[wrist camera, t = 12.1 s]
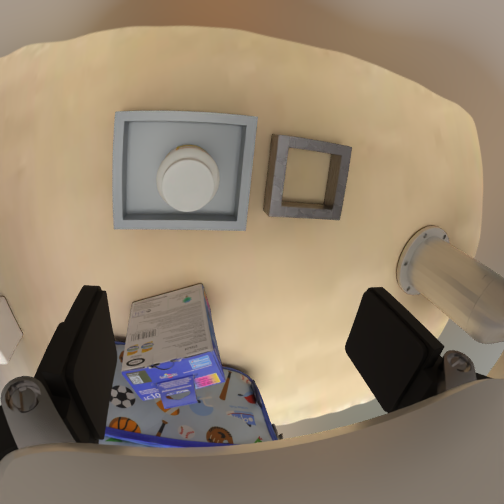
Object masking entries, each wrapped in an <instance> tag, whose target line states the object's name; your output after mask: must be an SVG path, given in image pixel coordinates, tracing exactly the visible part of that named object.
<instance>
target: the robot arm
mask: <svg viewBox="0 0 504 504" xmlns="http://www.w3.org/2000/svg"><path fill="white" fill-rule="evenodd" d="M397 281H398V284H399V286H400V288H401V289H402V290H403V291H404V292H405V293H407V294H409V295H418V294H422V295H423V296H425V297H426V298H427V299H428V300H429V301H431V302H432V303H433V304H434V305H435V306H436V307H438V308H439V309H440V310H441V311H442V312H443V313H445V314H446V315H447V316H448V317H449V318H450V319H452V320H453V321H454V322H455V323H456V324H457V325H458V326H459V327H461V328H462V329H463V330H464V331H465V332H466V333H467V334H468V335H469V336H471V337H472V338H473V339H474V340H476V341H477V342H479V343H482V344H492V343H498V342H504V278H503V277H502V276H500V275H499V274H497V273H496V272H494V271H493V270H491V269H490V268H488V267H487V266H485V265H483V264H482V263H480V262H479V261H477V260H476V259H474V258H472V257H471V256H469V255H468V254H466V253H464V252H463V251H461V250H459V249H458V248H456V247H454V246H452V245H451V244H450V243H449V238H448V236H447V234H446V232H445V231H444V230H442V229H441V228H439V227H437V226H428V227H425V228H423V229H421V230H420V231H418V232H417V233H416V234H415V235H414V236H413V237H412V238H411V239H410V241H409V242H408V243H407V245H406V246H405V248H404V250H403V252H402V254H401V257H400V260H399V263H398V268H397ZM443 348H444V346H443V345H442V344H441V343H440V342H439V341H438V340H437V339H436V338H435V337H434V336H433V335H432V334H431V333H430V332H429V331H428V330H427V329H426V328H425V327H424V326H423V325H422V324H421V323H420V322H419V321H418V320H417V319H416V318H415V317H414V316H413V315H412V314H411V313H410V312H409V311H408V310H407V309H406V308H405V307H404V306H403V305H402V304H400V303H399V302H398V301H397V300H396V299H395V298H394V297H393V296H392V295H391V294H390V293H389V292H388V291H386V290H385V289H384V288H383V287H372V288H368V290H367V291H366V292H365V293H364V294H363V297H362V300H361V303H360V306H359V309H358V312H357V315H356V317H355V320H354V323H353V326H352V329H351V331H350V334H349V337H348V339H347V342H346V345H345V350H346V353H347V355H348V356H349V358H350V359H351V361H352V362H353V364H354V365H355V367H356V368H357V370H358V371H359V373H360V374H361V376H362V377H363V379H364V381H365V382H366V384H367V385H368V387H369V388H370V390H371V391H372V393H373V394H374V396H375V397H376V399H377V400H378V402H379V403H380V405H381V406H382V408H383V410H384V411H386V412H388V414H385V415H382V416H378V417H375V418H372V419H369V420H365V421H362V422H359V423H355V424H352V425H348V426H344V427H340V428H336V429H332V430H327V431H323V432H318V433H314V434H309V435H304V436H299V437H293V438H287V439H281V440H274V441H267V442H260V443H251V444H242V445H230V446H216V447H186V448H160V447H135V446H121V445H104V444H99V440H103V439H104V437H105V430H106V422H107V415H108V409H109V403H110V397H111V391H112V385H113V380H114V375H115V370H116V365H117V350H116V345H115V340H114V335H113V330H112V324H111V318H110V312H109V306H108V300H107V293H106V291H102V290H101V287H100V286H88V285H84V286H83V287H82V289H81V291H80V292H79V294H78V296H77V298H76V300H75V302H74V303H73V305H72V307H71V309H70V311H69V313H68V315H67V317H66V319H65V321H64V322H61V323H60V324H59V325H58V327H57V329H56V331H55V333H54V335H53V337H52V339H51V341H50V343H49V345H48V347H47V349H46V352H45V354H44V356H43V358H42V360H41V363H40V365H39V367H38V369H37V372H36V374H35V376H34V377H30V376H21V377H17V378H14V379H13V380H11V381H9V382H8V383H7V384H6V385H5V387H4V389H3V390H2V393H1V406H0V504H504V351H503V352H502V354H501V356H500V358H499V359H498V360H497V362H496V363H495V365H494V366H493V368H492V369H491V371H490V372H489V373H488V375H487V376H484V375H481V374H478V373H475V368H474V364H473V362H472V361H471V359H470V358H469V357H468V356H466V355H465V354H463V353H461V352H459V351H455V350H449V351H447V352H446V353H445V354H444V356H443V357H441V356H440V354H441V352H442V350H443Z"/></svg>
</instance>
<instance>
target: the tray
mask: <svg viewBox="0 0 504 504" xmlns="http://www.w3.org/2000/svg"><path fill="white" fill-rule="evenodd" d="M257 120H258V117H254V116H245V115H235V114H224V113H210V112H191V111H120V112H115V123H114V140H113V220H114V229H171V230H234V231H246V222H247V213H248V203H249V194H250V184H251V175H252V166H253V156H254V147H255V138H256V129H257ZM184 144H192V145H197V146H199V147H201V148H203V149H204V150H205V151H206V152H207V153H208V154H209V155H210V156H211V157H212V159H213V160H214V161H215V163H216V165H217V167H218V170H219V176H220V181H219V186H218V189H217V192H216V194H215V195H214V197H213V198H212V199H211V200H210V202H208V203H207V204H206V205H205V206H204V207H202V208H200V209H199V210H196V211H192V212H183V211H179V210H176V209H174V208H173V207H171V206H170V205H168V204H167V203H166V202H165V201H164V200H163V199H162V197H161V196H160V194H159V192H158V189H157V183H156V177H157V172H158V169H159V166H160V164H161V163H162V161H163V160H164V159H165V157H166V156H167V155H168V153H169V152H170V151H171V150H173V149H174V148H176V147H178V146H180V145H184Z"/></svg>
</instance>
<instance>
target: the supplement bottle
mask: <svg viewBox="0 0 504 504" xmlns="http://www.w3.org/2000/svg"><path fill="white" fill-rule="evenodd" d="M219 181H220V176H219V170H218V167H217V165H216V163H215V161H214V160H213V159H212V157H211V156H210V155H209V154H208V153H207V152H206V151H205V150H204V149H203V148H201V147H199V146H197V145H192V144H184V145H180V146H178V147H176V148H174V149H173V150H171V151H170V152H169V153H168V155H167V156H166V157H165V159H164V160H163V161H162V163H161V164H160V166H159V169H158V172H157V177H156V183H157V189H158V192H159V194H160V196H161V197H162V199H163V200H164V201H165V202H166V203H167V204H168V205H170V206H171V207H173V208H174V209H176V210H179V211H183V212H192V211H196V210H199V209H200V208H202V207H204V206H205V205H206V204H207V203H208V202H210V200H211V199H212V198H213V197H214V195H215V194H216V192H217V189H218V186H219Z"/></svg>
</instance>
